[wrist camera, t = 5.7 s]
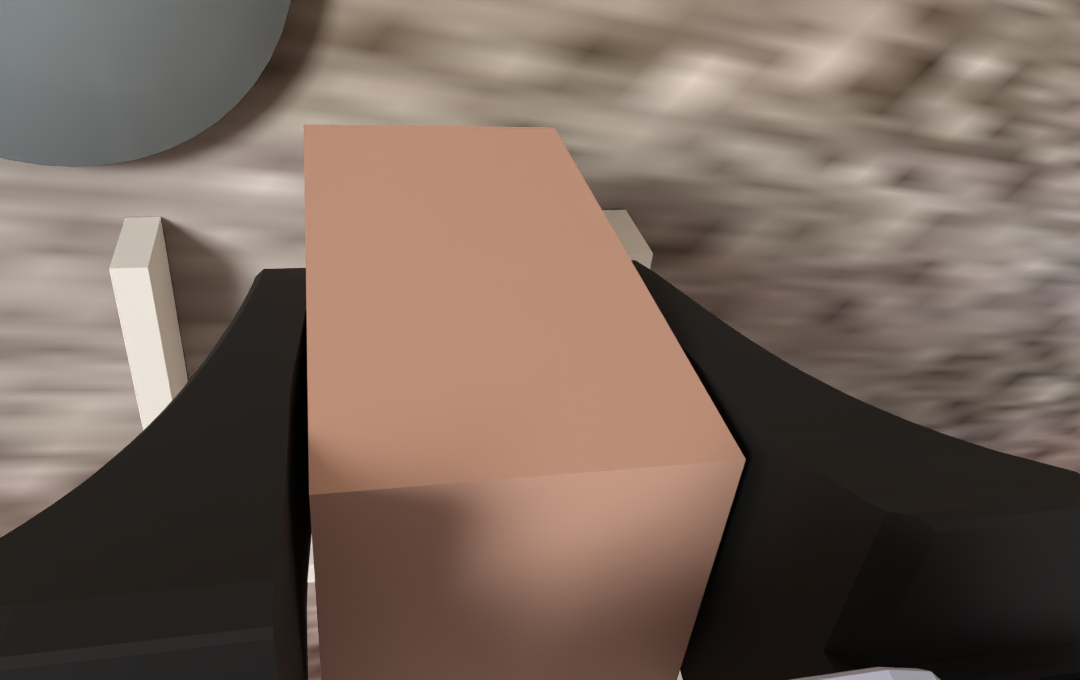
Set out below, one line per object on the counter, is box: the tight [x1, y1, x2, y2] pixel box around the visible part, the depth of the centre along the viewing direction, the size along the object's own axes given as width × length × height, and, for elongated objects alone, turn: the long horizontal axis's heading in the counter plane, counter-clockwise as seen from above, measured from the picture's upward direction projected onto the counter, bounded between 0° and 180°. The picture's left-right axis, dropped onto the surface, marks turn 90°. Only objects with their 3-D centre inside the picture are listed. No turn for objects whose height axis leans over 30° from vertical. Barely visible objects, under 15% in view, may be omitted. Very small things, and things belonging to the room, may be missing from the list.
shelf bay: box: [109, 210, 653, 583], centre depth 25 cm, size 13×11×2 cm
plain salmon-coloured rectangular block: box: [304, 125, 746, 680], centre depth 12 cm, size 4×4×8 cm
